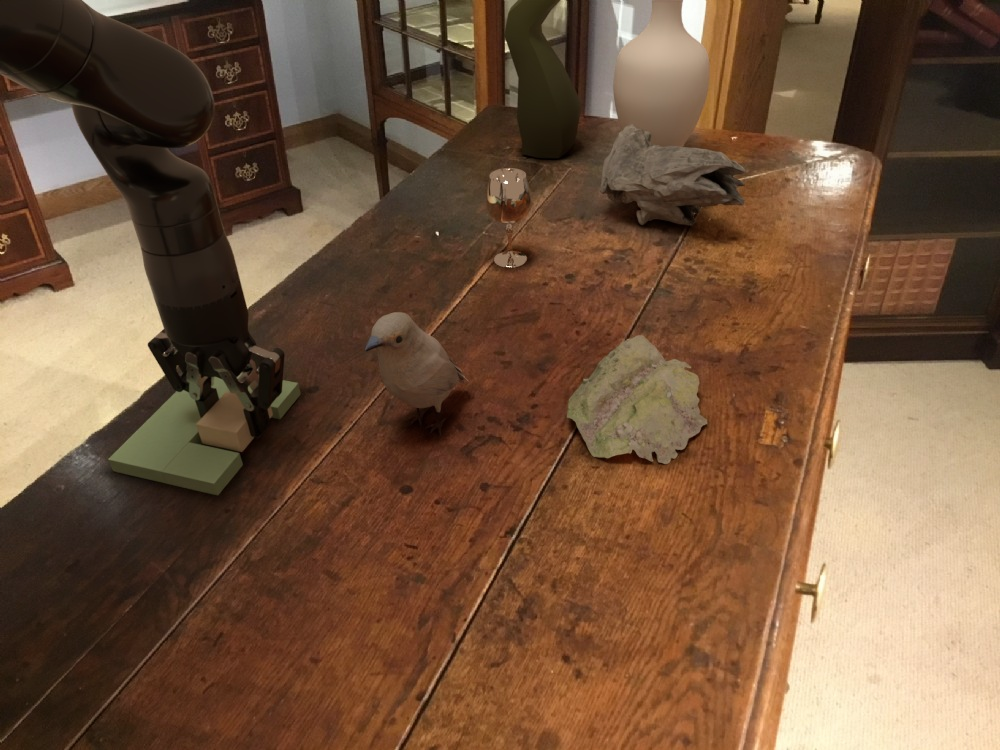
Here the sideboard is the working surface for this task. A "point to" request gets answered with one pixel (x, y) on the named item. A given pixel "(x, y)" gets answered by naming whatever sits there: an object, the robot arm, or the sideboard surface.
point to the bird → (413, 364)
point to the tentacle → (541, 84)
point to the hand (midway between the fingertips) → (237, 426)
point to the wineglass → (508, 208)
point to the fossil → (668, 178)
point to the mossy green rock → (637, 404)
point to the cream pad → (226, 424)
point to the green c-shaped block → (186, 445)
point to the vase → (662, 78)
